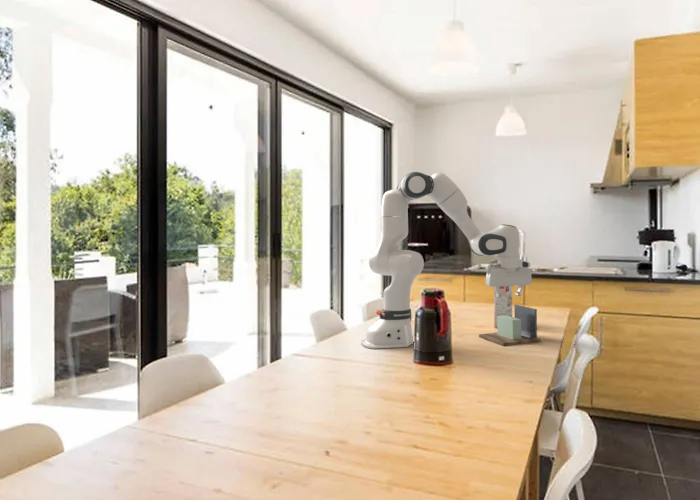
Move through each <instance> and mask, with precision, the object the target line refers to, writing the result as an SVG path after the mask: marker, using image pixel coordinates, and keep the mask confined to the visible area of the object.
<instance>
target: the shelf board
mask: <svg viewBox="0 0 700 500" xmlns="http://www.w3.org/2000/svg"><path fill="white" fill-rule="evenodd" d="M478 337H479V338H480V339H483V340H485V341H489V342H491V343H494V344H497V345H499V346H502V347H505V346H506V347H507V346H517V345H524V344H526V345H527V344H534V343H542V338H540V337H537V338H533V339H528V338H525V337H521V339H514V340H512V339H509V338H506V337H504V336H501V335H498V334H497V332H489V333H479V334H478Z"/></svg>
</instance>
